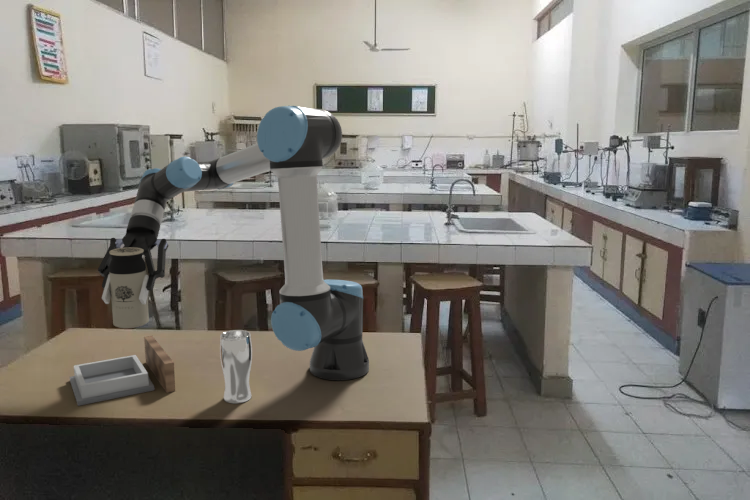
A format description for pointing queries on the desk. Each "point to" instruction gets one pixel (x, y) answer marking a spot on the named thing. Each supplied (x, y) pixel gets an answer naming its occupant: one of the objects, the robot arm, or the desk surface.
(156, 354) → the door edge rail
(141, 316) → the travel mug
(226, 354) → the beer glass
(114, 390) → the socket
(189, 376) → the desk surface
